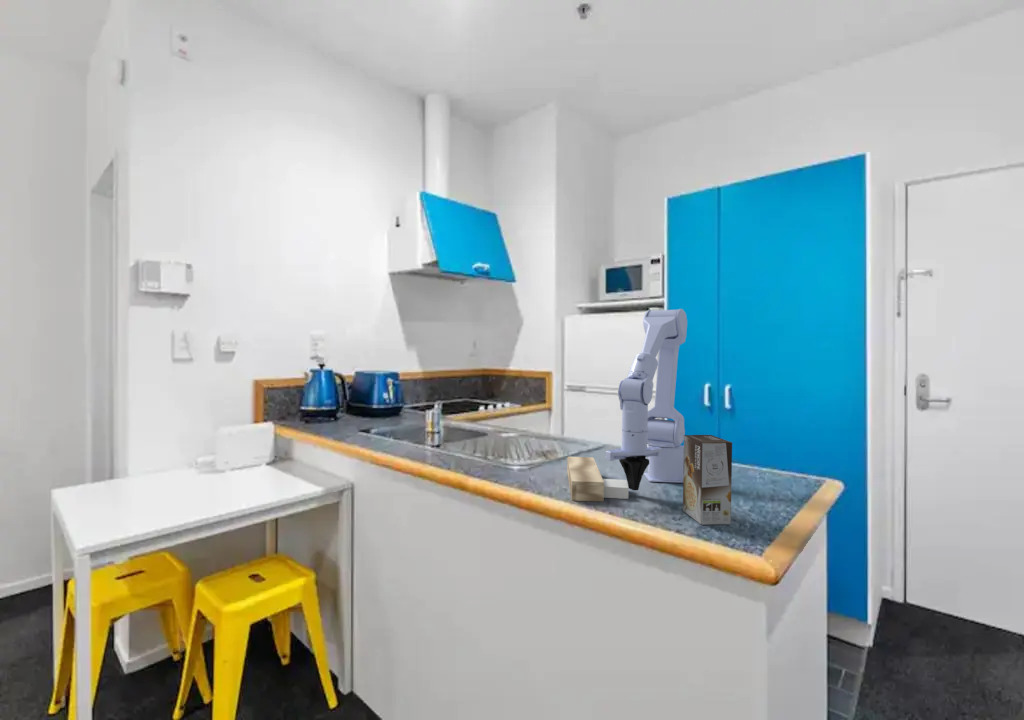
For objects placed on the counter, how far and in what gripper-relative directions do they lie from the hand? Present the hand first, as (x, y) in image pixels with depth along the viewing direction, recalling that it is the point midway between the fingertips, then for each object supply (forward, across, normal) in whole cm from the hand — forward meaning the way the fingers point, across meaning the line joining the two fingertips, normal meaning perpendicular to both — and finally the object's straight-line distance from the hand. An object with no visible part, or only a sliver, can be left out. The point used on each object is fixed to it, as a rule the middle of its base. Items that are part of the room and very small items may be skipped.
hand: (633, 489), depth 117 cm
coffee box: (+2, -4, +18) cm, 19 cm away
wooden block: (+1, +6, -11) cm, 13 cm away
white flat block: (+1, +5, -4) cm, 7 cm away
